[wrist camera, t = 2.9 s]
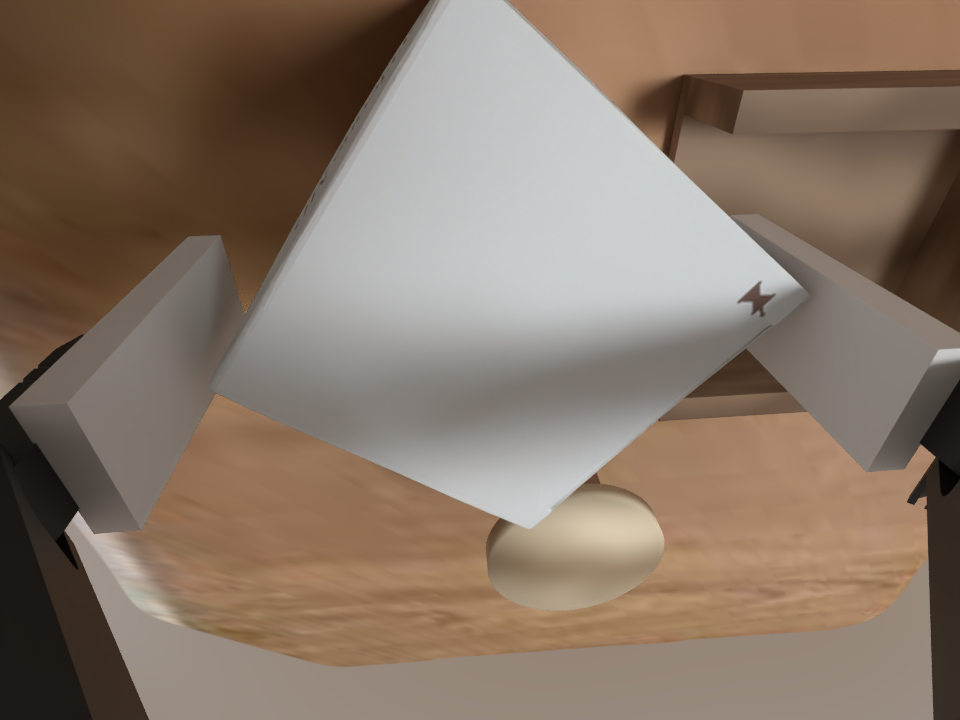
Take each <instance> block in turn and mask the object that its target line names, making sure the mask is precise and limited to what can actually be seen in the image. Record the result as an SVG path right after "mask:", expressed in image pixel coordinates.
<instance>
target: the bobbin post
mask: <svg viewBox="0 0 960 720" xmlns="http://www.w3.org/2000/svg"><path fill="white" fill-rule="evenodd" d="M663 551H664V537H663V533H662V531H661V529H660V527H659V524H658V522H657V520H656V518H655V515H654V513H653V511H652V509H651V508H650V506H649V505H648V504H647V503H646V502H645V501H644V500H643V499H642V498H641V497H639V496H637V495H636V494H634V493H632V492H630V491H628V490H625V489H622V488H619V487H616V486H611V485H605V484H600V481H599V478H598V476H597V473H595V474H594V475H592V476H591V477H590V478H589V479H588V480H587V481H585V482H584V483H583V484H582V485H581V486H580V487H578V488H577V489H576V490H575V491H574V492H573V493H572V494H570V495H569V496H568V497H567V498H566V499H565V500H564V501H562V502H561V503H560V504H559V505H558V506H557V507H555V508H554V509H553V510H552V511H551V513H550V514H549V515H548V516H546V517H545V518H544V519H542V520H541V521H540V522H539V523H538V524H537V525H536V526H534V527H533V528H532V529H526V528H523V527H521V526H519V525H516V524H514V523H512V522H509V521H507V520H505V519H502V518H500V519H499V520H498V521H497V522H496V524H495V525H494V526H493V528H492V530H491V532H490V534H489V536H488V539H487V542H486V556H487V565H488V575H489V578H490V581H491V583H492V585H493V586H494V588H495V589H496V590H497V591H498V592H499V593H500V594H501V595H502V596H503V597H505V598H506V599H508V600H510V601H512V602H514V603H516V604H519V605H522V606H525V607H528V608H534V609H540V610H555V611H559V610H572V609H580V608H585V607H590V606H594V605H597V604H601V603H604V602H607V601H609V600H612V599H614V598H617V597H619V596H621V595H623V594H625V593H627V592H628V591H630V590H632V589H633V588H635V587H636V586H638V585H639V584H640V583H642V582H643V581H644V580H645V579H646V578H647V577H648V576H649V575H650V574H651V573H652V572H653V571H654V570H655V568H656V567H657V565H658V564H659V562H660V560H661V558H662V555H663Z"/></svg>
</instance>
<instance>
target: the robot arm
mask: <svg viewBox="0 0 960 720" xmlns="http://www.w3.org/2000/svg"><path fill="white" fill-rule="evenodd" d="M730 218H731V219H732V220H733V221H734V222H735V223H736V224H737V225H738V226H739V227H740V228H741V229H742V230H743V231H744V232H746V233H747V234H748V235H749V236H750V237H751V238H752V239H753V240H754V241H755V242H756V243H757V244H758V245H759V246H760V247H761V248H762V249H763V250H764V251H765V252H766V253H767V254H769V255H770V256H771V257H772V258H773V259H774V260H775V261H776V262H777V263H778V264H779V265H780V266H781V267H782V268H783V269H785V270H786V271H787V272H788V273H789V274H790V275H791V276H792V277H793V278H794V279H795V280H796V281H797V282H798V283H799V284H800V285H802V287H803V288H804V289H805V290H806V291H807V292H808V293H809V294H810V298H809V299H808V300H807V301H806V302H805V303H804V304H803V305H802V306H800V307H799V308H798V309H796V310H795V311H794V312H792V313H791V314H790V315H789V316H787V317H786V318H785V319H783V320H782V321H781V322H779V323H778V324H777V325H775V326H774V327H772V328H771V329H770V330H768V331H767V332H766V333H765V334H763V335H762V336H761V337H759V338H758V339H757V340H756V341H754V342H753V343H752V344H751V345H749V346H748V347H747V348H746V349H747V350H748V351H749V352H750V353H751V354H752V355H753V356H754V357H755V358H756V359H757V360H758V361H759V362H760V363H761V364H762V365H763V366H764V367H765V368H766V369H767V370H768V371H769V372H770V373H771V375H772V376H773V377H774V378H775V379H776V380H777V381H778V382H779V383H780V384H781V385H782V386H783V387H784V388H785V389H786V390H787V391H788V392H789V393H790V394H791V395H792V396H793V397H794V398H795V399H796V400H797V401H798V402H799V403H800V404H801V405H802V406H803V407H804V408H805V409H806V410H807V411H808V412H809V413H810V415H811V416H812V417H813V418H814V419H815V420H816V421H817V422H818V423H819V424H820V425H821V426H822V427H823V428H824V429H825V430H826V431H827V432H828V433H829V434H830V435H831V436H832V437H833V438H834V439H835V440H836V441H837V442H838V443H839V444H840V445H841V446H842V447H843V448H844V449H845V450H846V451H847V452H848V453H849V455H850V456H851V457H852V458H853V459H854V460H855V461H856V462H857V463H858V464H859V465H860V466H861V467H862V468H863V469H864V470H865V471H866V472H875V471H887V470H900V469H905V468H906V466H907V464H908V463H909V461H910V460H911V458H912V457H913V455H914V454H915V452H916V450H917V449H918V447H919V446H920V444H921V445H923V446H924V447H925V448H926V449H927V450H928V451H930V452H931V453H932V454H933V455H934V456H935V457H936V458H935V459H934V461H933V462H932V464H931V465H930V467H929V468H928V469H927V471H926V472H925V474H924V475H923V477H922V478H921V480H920V481H919V483H918V484H917V486H916V487H915V489H914V490H913V492H912V493H911V495H910V496H909V499H908V501H907V503H910V504H913V505H914V504H915V503H916V501H917V500H918V498H921V497H925V496H927V505H926V506H925V508H924V509H927V524H928V556H929V586H930V615H931V616H930V619H931V650H932V681H933V682H932V684H933V711H934V712H933V714H934V720H960V333H959V332H957V331H955V330H954V329H952V328H950V327H949V326H947V325H945V324H944V323H942V322H940V321H938V320H937V319H935V318H933V317H932V316H930V315H928V314H927V313H925V312H923V311H922V310H920V309H918V308H916V307H915V306H913V305H911V304H910V303H908V302H906V301H905V300H903V299H901V298H900V297H898V296H896V295H894V294H893V293H891V292H889V291H888V290H886V289H884V288H883V287H881V286H879V285H877V284H876V283H874V282H872V281H871V280H869V279H867V278H866V277H864V276H862V275H861V274H859V273H857V272H855V271H854V270H852V269H850V268H849V267H847V266H845V265H844V264H842V263H840V262H838V261H837V260H835V259H833V258H832V257H830V256H828V255H827V254H825V253H823V252H822V251H820V250H818V249H816V248H815V247H813V246H811V245H810V244H808V243H806V242H805V241H803V240H801V239H799V238H798V237H796V236H794V235H793V234H791V233H789V232H788V231H786V230H784V229H783V228H781V227H779V226H777V225H776V224H774V223H772V222H771V221H769V220H767V219H766V218H764V217H762V216H761V215H759V214H745V215H730ZM244 317H245V314H244V311H243V308H242V304H241V301H240V298H239V295H238V291H237V288H236V285H235V281H234V278H233V275H232V271H231V268H230V265H229V261H228V258H227V255H226V251H225V248H224V245H223V241H222V238H221V235H212V236H188V237H187V238H186V239H185V240H184V241H183V242H182V243H181V244H180V245H179V246H178V247H177V248H176V249H175V250H174V251H173V252H171V253H170V254H169V255H168V256H167V257H166V258H165V259H164V260H163V261H162V262H161V263H160V264H159V265H158V266H157V267H156V268H155V269H154V270H152V271H151V272H150V273H149V274H148V275H147V276H146V277H145V278H144V279H143V280H142V281H141V282H140V283H139V284H138V285H137V286H136V287H135V288H133V289H132V290H131V291H130V292H129V293H128V294H127V295H126V296H125V297H124V298H123V299H122V300H121V301H120V302H119V303H118V304H117V305H116V306H115V307H113V308H112V309H111V310H110V311H109V312H108V313H107V314H106V315H105V316H104V317H103V318H102V319H101V320H100V321H99V322H98V323H97V324H96V325H94V326H93V327H92V328H91V329H90V330H89V331H88V332H87V333H86V334H84V335H81V336H79V337H77V338H75V339H73V340H71V341H70V342H68V343H66V344H64V345H62V346H61V347H59V348H57V349H55V350H54V351H53V352H52V353H51V354H50V355H49V356H48V357H47V358H46V359H45V360H43V361H42V362H41V363H40V364H39V365H38V369H34V370H32V371H31V372H30V373H29V374H28V375H27V376H26V377H25V378H24V379H23V382H22V383H18V384H17V385H16V386H15V387H14V388H13V389H12V390H11V391H9V392H8V393H7V394H6V395H5V396H4V397H3V398H2V399H1V400H0V720H149V719H148V716H147V714H146V712H145V709H144V707H143V704H142V702H141V700H140V698H139V695H138V693H137V690H136V688H135V686H134V683H133V681H132V679H131V677H130V674H129V672H128V669H127V667H126V665H125V662H124V660H123V658H122V655H121V653H120V651H119V648H118V646H117V644H116V641H115V639H114V637H113V634H112V632H111V630H110V627H109V625H108V623H107V620H106V618H105V615H104V613H103V611H102V608H101V606H100V604H99V602H98V599H97V597H96V594H95V592H94V590H93V587H92V585H91V583H90V581H89V578H88V576H87V573H86V571H85V569H84V566H83V564H82V562H81V560H80V557H79V555H78V552H77V550H76V547H75V545H74V543H73V542H72V540H71V539H70V538H69V536H68V535H67V534H66V532H65V531H64V530H65V529H66V527H67V526H68V524H69V523H70V521H71V520H72V519H73V517H74V516H75V514H76V513H77V511H79V513H80V514H81V516H82V517H83V518H84V520H85V521H86V523H87V524H88V526H89V527H90V529H91V530H92V532H93V533H94V534H99V533H111V532H124V531H136V530H142V528H143V526H144V524H145V522H146V520H147V519H148V517H149V515H150V513H151V511H152V509H153V508H154V506H155V504H156V502H157V500H158V498H159V496H160V495H161V493H162V491H163V489H164V487H165V485H166V484H167V482H168V480H169V478H170V476H171V474H172V473H173V471H174V469H175V467H176V465H177V463H178V462H179V460H180V458H181V456H182V454H183V452H184V451H185V449H186V447H187V445H188V443H189V441H190V440H191V438H192V436H193V434H194V432H195V430H196V429H197V427H198V425H199V423H200V421H201V419H202V418H203V416H204V414H205V412H206V410H207V408H208V407H209V405H210V403H211V401H212V399H213V397H214V396H215V394H216V393H215V392H213V391H212V390H211V389H210V387H209V381H210V379H211V377H212V375H213V374H214V372H215V370H216V368H217V366H218V364H219V363H220V361H221V359H222V357H223V355H224V354H225V352H226V350H227V348H228V346H229V344H230V343H231V341H232V339H233V337H234V335H235V333H236V331H237V330H238V328H239V326H240V324H241V322H242V320H243V318H244Z"/></svg>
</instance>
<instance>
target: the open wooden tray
mask: <svg viewBox="0 0 960 720" xmlns="http://www.w3.org/2000/svg"><path fill="white" fill-rule="evenodd" d="M668 158H669V159H670V160H671V161H672V162H673V163H674V164H675V165H676V166H677V167H678V168H679V169H680V170H681V171H682V172H683V173H684V174H685V175H686V176H687V177H688V178H689V179H691V180H692V181H693V182H694V183H695V184H696V185H697V186H698V187H699V188H700V189H701V190H702V191H703V192H704V193H705V194H706V195H707V196H708V197H709V198H710V199H711V200H712V201H713V202H714V203H715V204H716V205H717V206H718V207H720V208H721V209H722V210H723V211H724V212H725V213H726V214H727V215H728V216H729V217H730V215H745V214H759V215H761V216H762V217H764V218H766V219H767V220H769V221H771V222H772V223H774V224H776V225H777V226H779V227H781V228H783V229H784V230H786V231H788V232H789V233H791V234H793V235H794V236H796V237H798V238H799V239H801V240H803V241H805V242H806V243H808V244H810V245H811V246H813V247H815V248H816V249H818V250H820V251H822V252H823V253H825V254H827V255H828V256H830V257H832V258H833V259H835V260H837V261H838V262H840V263H842V264H844V265H845V266H847V267H849V268H850V269H852V270H854V271H855V272H857V273H859V274H861V275H862V276H864V277H866V278H867V279H869V280H871V281H872V282H874V283H876V284H877V285H879V286H881V287H883V288H884V289H886V290H888V291H889V292H891V293H893V294H894V295H896V296H898V297H900V298H901V299H903V300H905V301H906V302H908V303H910V304H911V305H913V306H915V307H916V308H918V309H920V310H922V311H923V312H925V313H927V314H928V315H930V316H932V317H933V318H935V319H937V320H938V321H940V322H942V323H944V324H945V325H947V326H949V327H950V328H952V329H954V330H955V331H957V332H959V333H960V70H932V71H873V72H813V73H754V74H694V75H684V77H683V83H682V88H681V93H680V98H679V103H678V108H677V113H676V119H675V124H674V129H673V134H672V139H671V144H670V150H669V155H668ZM795 412H808V411H807V410H806V409H805V408H804V407H803V406H802V405H801V404H800V403H799V402H798V401H797V400H796V399H795V398H794V397H793V396H792V395H791V394H790V393H789V392H788V391H787V390H786V389H785V388H784V387H783V386H782V385H781V384H780V383H779V382H778V381H777V380H776V379H775V378H774V377H773V376H772V375H771V373H770V372H769V371H768V370H767V369H766V368H765V367H764V366H763V365H762V364H761V363H760V362H759V361H758V360H757V359H756V358H755V357H754V356H753V355H752V354H751V353H750V352H749V351H748V350H747V349H744V350H743V351H742V352H741V353H739V354H738V355H737V356H736V357H734V358H733V359H732V360H731V361H729V362H728V363H727V364H726V365H724V366H723V367H722V368H721V369H719V370H718V371H717V372H716V373H714V374H713V375H712V376H711V377H709V378H708V379H707V380H706V381H704V382H703V383H702V384H701V385H699V386H698V387H697V388H696V389H694V390H693V391H692V392H691V393H689V394H688V395H687V396H686V397H685V398H683V399H682V400H681V401H680V402H679V403H677V404H676V405H675V406H674V407H672V408H671V409H670V410H669V411H668V412H666V413H665V414H664V415H663V416H662V417H660V418H659V419H658V420H659V421H669V420H684V419H700V418H716V417H732V416H748V415H764V414H779V413H795Z"/></svg>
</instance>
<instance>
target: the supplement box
mask: <svg viewBox="0 0 960 720" xmlns="http://www.w3.org/2000/svg"><path fill="white" fill-rule="evenodd" d="M809 298H810V294H809V293H808V292H807V291H806V290H805V289H804V288H803V287H802V285H800V284H799V283H798V282H797V281H796V280H795V279H794V278H793V277H792V276H791V275H790V274H789V273H788V272H787V271H786V270H785V269H783V268H782V267H781V266H780V265H779V264H778V263H777V262H776V261H775V260H774V259H773V258H772V257H771V256H770V255H769V254H767V253H766V252H765V251H764V250H763V249H762V248H761V247H760V246H759V245H758V244H757V243H756V242H755V241H754V240H753V239H752V238H751V237H750V236H749V235H748V234H747V233H746V232H744V231H743V230H742V229H741V228H740V227H739V226H738V225H737V224H736V223H735V222H734V221H733V220H732V219H731V218H730V217H729V216H728V215H727V214H726V213H725V212H724V211H723V210H722V209H721V208H720V207H718V206H717V205H716V204H715V203H714V202H713V201H712V200H711V199H710V198H709V197H708V196H707V195H706V194H705V193H704V192H703V191H702V190H701V189H700V188H699V187H698V186H697V185H696V184H695V183H694V182H693V181H692V180H691V179H689V178H688V177H687V176H686V175H685V174H684V173H683V172H682V171H681V170H680V169H679V168H678V167H677V166H676V165H675V164H674V163H673V162H672V161H671V160H670V159H669V158H668V157H667V156H666V155H665V154H664V153H663V152H662V151H661V150H660V149H659V148H658V147H657V146H656V145H655V144H654V143H653V142H652V141H651V140H650V139H649V138H648V137H647V136H646V135H645V134H644V133H643V132H642V131H641V130H640V129H639V128H638V127H637V126H636V125H635V124H634V123H633V122H632V121H631V120H630V119H629V118H628V117H627V116H626V115H625V114H624V113H623V112H622V111H621V110H620V109H619V108H618V107H617V106H616V105H615V104H614V103H613V102H612V101H611V100H610V99H609V98H608V97H607V96H606V95H605V94H604V93H603V92H602V91H601V90H600V89H599V88H598V87H597V86H596V85H595V84H594V83H593V82H592V81H591V80H590V79H589V78H588V77H587V76H586V75H585V74H584V73H583V72H582V71H581V70H580V69H579V68H578V67H577V66H576V65H575V64H574V63H573V62H572V61H571V60H570V59H568V58H567V57H566V56H565V55H564V54H563V53H562V52H561V51H560V50H559V49H558V48H557V47H556V46H555V45H554V44H553V43H552V42H551V41H550V40H548V39H547V38H546V37H545V36H544V35H543V34H542V33H541V32H540V31H539V30H538V29H537V28H536V27H535V26H534V25H533V24H532V23H531V22H530V21H528V20H527V19H526V18H525V17H524V16H523V15H522V14H521V13H520V12H519V11H518V10H517V9H516V8H515V7H514V6H513V5H512V4H511V3H510V2H508V1H507V0H430V1H429V2H428V4H427V5H426V7H425V8H424V10H423V11H422V13H421V14H420V16H419V17H418V19H417V20H416V22H415V23H414V24H413V26H412V28H411V29H410V31H409V32H408V34H407V35H406V37H405V39H404V40H403V42H402V43H401V45H400V47H399V48H398V50H397V51H396V53H395V54H394V56H393V57H392V59H391V61H390V62H389V64H388V66H387V67H386V69H385V70H384V72H383V74H382V75H381V77H380V79H379V80H378V82H377V83H376V85H375V87H374V88H373V90H372V92H371V93H370V95H369V97H368V98H367V100H366V101H365V103H364V105H363V106H362V108H361V110H360V111H359V113H358V115H357V116H356V118H355V120H354V121H353V123H352V125H351V127H350V128H349V130H348V132H347V134H346V135H345V137H344V139H343V140H342V142H341V144H340V146H339V147H338V149H337V151H336V153H335V154H334V156H333V158H332V160H331V161H330V163H329V165H328V166H327V168H326V170H325V172H324V173H323V175H322V177H321V179H320V180H319V182H318V184H317V185H316V187H315V189H314V191H313V193H312V194H311V196H310V198H309V200H308V201H307V203H306V205H305V207H304V209H303V210H302V212H301V214H300V216H299V217H298V219H297V221H296V223H295V225H294V226H293V228H292V230H291V232H290V233H289V235H288V237H287V239H286V241H285V242H284V244H283V246H282V248H281V250H280V252H279V253H278V255H277V257H276V259H275V261H274V263H273V265H272V266H271V268H270V270H269V272H268V274H267V276H266V278H265V279H264V281H263V283H262V285H261V287H260V289H259V291H258V292H257V294H256V296H255V298H254V300H253V302H252V304H251V305H250V307H249V309H248V311H247V313H246V315H245V317H244V318H243V320H242V322H241V324H240V326H239V328H238V330H237V331H236V333H235V335H234V337H233V339H232V341H231V343H230V344H229V346H228V348H227V350H226V352H225V354H224V355H223V357H222V359H221V361H220V363H219V364H218V366H217V368H216V370H215V372H214V374H213V375H212V377H211V379H210V381H209V387H210V389H211V390H212V391H213V392H215V393H217V394H219V395H221V396H223V397H225V398H227V399H230V400H232V401H234V402H236V403H238V404H240V405H242V406H244V407H246V408H248V409H251V410H253V411H255V412H258V413H260V414H262V415H264V416H266V417H269V418H271V419H273V420H275V421H277V422H279V423H282V424H284V425H286V426H288V427H291V428H293V429H295V430H298V431H300V432H303V433H305V434H307V435H310V436H312V437H315V438H317V439H319V440H322V441H324V442H327V443H329V444H331V445H334V446H336V447H338V448H341V449H343V450H346V451H348V452H350V453H353V454H355V455H357V456H360V457H362V458H364V459H366V460H369V461H371V462H373V463H376V464H378V465H380V466H383V467H385V468H387V469H389V470H392V471H394V472H396V473H399V474H401V475H403V476H406V477H408V478H410V479H412V480H415V481H417V482H419V483H421V484H423V485H426V486H428V487H430V488H432V489H435V490H437V491H439V492H441V493H444V494H446V495H448V496H450V497H453V498H455V499H457V500H460V501H462V502H464V503H467V504H469V505H471V506H474V507H476V508H478V509H481V510H483V511H485V512H488V513H490V514H493V515H495V516H497V517H500V518H502V519H505V520H507V521H509V522H512V523H514V524H516V525H519V526H521V527H523V528H526V529H532V528H533V527H534V526H536V525H537V524H538V523H539V522H540V521H541V520H542V519H544V518H545V517H546V516H548V515H549V514H550V513H551V511H552V510H553V509H554V508H555V507H557V506H558V505H559V504H560V503H561V502H562V501H564V500H565V499H566V498H567V497H568V496H569V495H570V494H572V493H573V492H574V491H575V490H576V489H577V488H578V487H580V486H581V485H582V484H583V483H584V482H585V481H587V480H588V479H589V478H590V477H591V476H592V475H594V474H595V473H596V472H597V471H598V470H599V469H600V468H601V467H602V466H604V465H605V464H606V463H607V462H608V461H610V460H611V459H612V458H613V457H614V456H616V455H617V454H618V453H619V452H620V451H621V450H623V449H624V448H625V447H626V446H627V445H629V444H630V443H631V442H632V441H633V440H634V439H636V438H637V437H638V436H639V435H640V434H642V433H643V432H644V431H645V430H646V429H647V428H649V427H650V426H651V425H652V424H653V423H654V422H656V421H657V420H658V419H659V418H660V417H662V416H663V415H664V414H665V413H666V412H668V411H669V410H670V409H671V408H672V407H674V406H675V405H676V404H677V403H679V402H680V401H681V400H682V399H683V398H685V397H686V396H687V395H688V394H689V393H691V392H692V391H693V390H694V389H696V388H697V387H698V386H699V385H701V384H702V383H703V382H704V381H706V380H707V379H708V378H709V377H711V376H712V375H713V374H714V373H716V372H717V371H718V370H719V369H721V368H722V367H723V366H724V365H726V364H727V363H728V362H729V361H731V360H732V359H733V358H734V357H736V356H737V355H738V354H739V353H741V352H742V351H743V350H744V349H746V348H747V347H748V346H749V345H751V344H752V343H753V342H754V341H756V340H757V339H758V338H759V337H761V336H762V335H763V334H765V333H766V332H767V331H768V330H770V329H771V328H772V327H774V326H775V325H777V324H778V323H779V322H781V321H782V320H783V319H785V318H786V317H787V316H789V315H790V314H791V313H792V312H794V311H795V310H796V309H798V308H799V307H800V306H802V305H803V304H804V303H805V302H806V301H807V300H808V299H809Z"/></svg>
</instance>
